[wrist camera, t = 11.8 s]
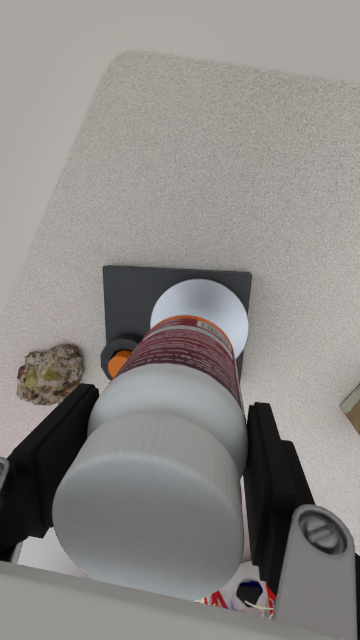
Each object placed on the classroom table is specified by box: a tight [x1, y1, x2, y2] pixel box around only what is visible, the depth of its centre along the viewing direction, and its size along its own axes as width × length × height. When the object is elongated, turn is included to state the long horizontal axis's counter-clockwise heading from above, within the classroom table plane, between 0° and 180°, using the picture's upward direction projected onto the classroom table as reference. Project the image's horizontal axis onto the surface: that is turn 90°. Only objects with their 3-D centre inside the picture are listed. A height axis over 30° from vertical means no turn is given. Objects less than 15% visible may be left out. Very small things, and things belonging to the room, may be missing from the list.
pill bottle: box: [52, 314, 249, 601], centre depth 12 cm, size 6×6×11 cm
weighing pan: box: [150, 279, 249, 358], centre depth 27 cm, size 10×10×1 cm
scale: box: [101, 265, 252, 384], centre depth 30 cm, size 16×14×4 cm
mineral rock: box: [17, 345, 83, 406], centre depth 35 cm, size 11×4×8 cm
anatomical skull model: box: [199, 560, 276, 619], centre depth 31 cm, size 16×19×25 cm
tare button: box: [108, 350, 132, 378], centre depth 29 cm, size 3×3×2 cm
